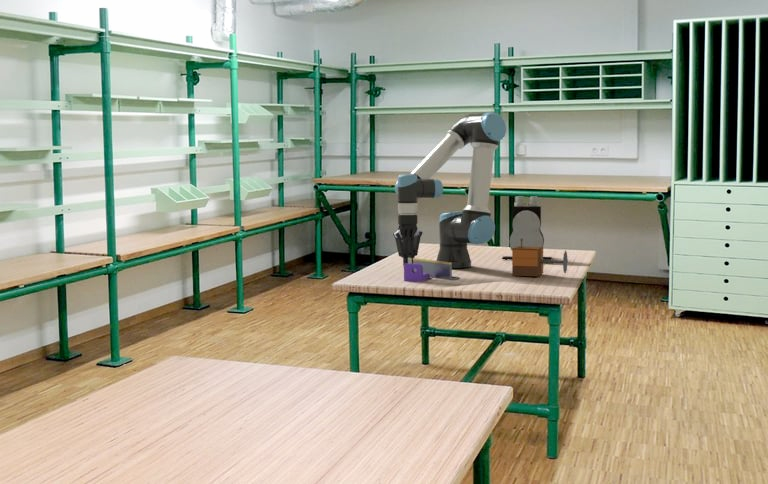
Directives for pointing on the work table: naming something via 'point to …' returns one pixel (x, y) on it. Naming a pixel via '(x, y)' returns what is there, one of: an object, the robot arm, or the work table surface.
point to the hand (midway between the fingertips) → (408, 274)
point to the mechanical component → (526, 224)
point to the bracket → (414, 273)
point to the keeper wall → (436, 268)
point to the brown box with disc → (531, 260)
